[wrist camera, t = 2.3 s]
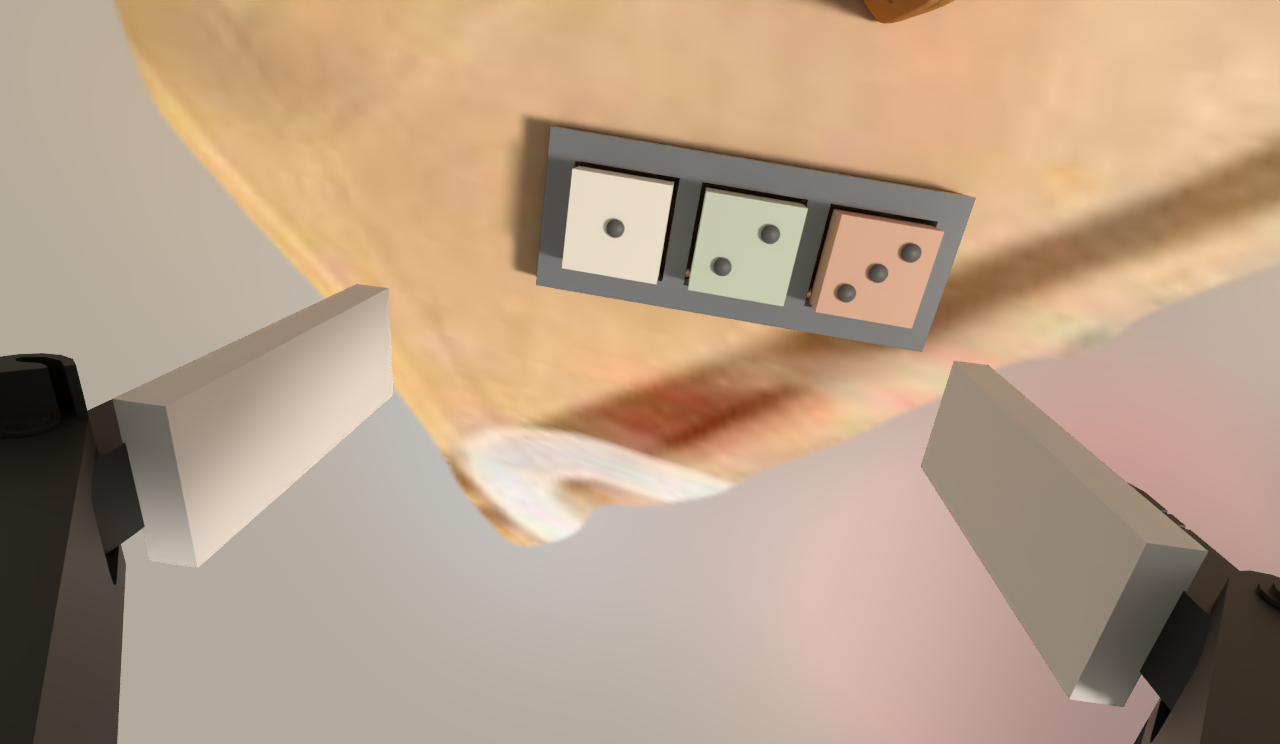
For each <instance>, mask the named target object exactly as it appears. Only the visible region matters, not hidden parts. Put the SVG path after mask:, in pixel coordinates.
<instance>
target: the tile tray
mask: <svg viewBox="0 0 1280 744" xmlns="http://www.w3.org/2000/svg"><path fill="white" fill-rule="evenodd" d="M580 161H582V162H588V163H593V164H599V165H605V166H611V167H617V168H623V169H629V170H635V171H641V172H647V173H653V174H659V175H665V176H670V177H676V178H680V180H679V186H678V192H677V198H676V204H675V210H674V216H673V221H672V227H671V233H670V239H669V245H668V251H667V256H666V262H665V268H664V274H659V276H658V280H657V284H651V283H645V282H639V281H633V280H627V279H622V278H616V277H610V276H604V275H599V274H593V273H587V272H581V271H575V270H570V269H564V268H562V261H563V252H564V243H565V233H566V224H567V215H568V205H569V196H570V187H571V177H572V169H573V168H576V167H578V166H580ZM702 182H706V183H712V184H718V185H724V186H730V187H736V188H741V189H747V190H753V191H759V192H765V193H771V194H777V195H783V196H789V197H795V198H801V199H803V200H802V204H803V205H804V206H805V207H807V208H808V211H807V215H806V219H805V223H804V227H803V231H802V235H801V239H800V243H799V247H798V251H797V254H796V258H795V262H794V266H793V270H792V274H791V278H790V282H789V286H788V290H787V294H786V298H785V302H784V306H778V305H772V304H766V303H760V302H755V301H749V300H743V299H737V298H731V297H726V296H720V295H714V294H708V293H703V292H697V291H691V290H688V283H689V279H687V278H685V273H686V267H687V262H688V257H689V251H690V246H691V240H692V235H693V230H694V224H695V219H696V213H697V208H698V202H699V197H700V192H701V186H702ZM975 199H976V198H974V197H970V196H967V195H963V194H958V193H952V192H946V191H940V190H934V189H928V188H922V187H916V186H910V185H904V184H898V183H892V182H886V181H880V180H874V179H868V178H863V177H857V176H851V175H845V174H839V173H833V172H827V171H821V170H815V169H809V168H803V167H797V166H791V165H785V164H779V163H773V162H767V161H761V160H755V159H749V158H743V157H737V156H731V155H725V154H719V153H713V152H707V151H702V150H696V149H690V148H684V147H678V146H672V145H666V144H660V143H654V142H648V141H642V140H636V139H630V138H624V137H618V136H612V135H606V134H600V133H594V132H588V131H582V130H576V129H570V128H564V127H558V126H555V127H550V138H549V149H548V160H547V171H546V182H545V193H544V204H543V215H542V225H541V236H540V247H539V258H538V269H537V280H536V285H539V286H545V287H551V288H557V289H562V290H568V291H574V292H580V293H585V294H591V295H597V296H603V297H608V298H614V299H620V300H626V301H631V302H637V303H643V304H649V305H654V306H660V307H666V308H672V309H677V310H683V311H689V312H695V313H700V314H706V315H712V316H718V317H723V318H729V319H735V320H741V321H746V322H752V323H758V324H764V325H769V326H775V327H781V328H787V329H792V330H798V331H804V332H810V333H815V334H821V335H827V336H833V337H838V338H844V339H850V340H856V341H861V342H867V343H873V344H879V345H884V346H890V347H896V348H902V349H907V350H913V351H919V352H922V350H923V348H924V345H925V342H926V339H927V336H928V333H929V330H930V328H931V325H932V322H933V319H934V316H935V313H936V310H937V308H938V305H939V302H940V299H941V296H942V293H943V290H944V288H945V285H946V282H947V279H948V276H949V273H950V270H951V267H952V265H953V262H954V259H955V256H956V253H957V250H958V247H959V245H960V242H961V239H962V236H963V233H964V230H965V227H966V225H967V222H968V219H969V216H970V213H971V210H972V207H973V205H974V202H975ZM831 204H836V205H842V206H848V207H854V208H860V209H866V210H872V211H878V212H884V213H890V214H895V215H901V216H907V217H913V218H919V219H925V220H926V222H925V224H927V225H931V226H933V227H935V228H937V229H940V230H942V231H944V235H943V238H942V241H941V244H940V247H939V250H938V253H937V256H936V259H935V261H934V264H933V267H932V270H931V273H930V276H929V279H928V282H927V285H926V288H925V291H924V294H923V297H922V300H921V303H920V306H919V309H918V312H917V315H916V318H915V321H914V324H913V327H912V329H911V328H905V327H899V326H893V325H887V324H882V323H876V322H870V321H864V320H859V319H853V318H847V317H841V316H835V315H830V314H824V313H818V312H815V310H814V309H813V307H812V305H811V304H810V302H809V299H806V296H807V293H808V289H809V285H810V281H811V277H812V274H813V270H814V266H815V262H816V259H817V255H818V251H819V247H820V243H821V240H822V236H823V232H824V228H825V224H826V221H827V217H828V213H829V209H830V206H831Z"/></svg>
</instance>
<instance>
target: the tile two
mask: <svg viewBox="0 0 1280 744" xmlns="http://www.w3.org/2000/svg"><path fill="white" fill-rule="evenodd" d="M807 211H808V208H807V207H805V206H804V205H803V204H802V203H797V202H791V201H785V200H779V199H773V198H767V197H761V196H755V195H749V194H743V193H738V192H732V191H726V190H720V189H714V188H708V187H706V190H705V196H704V201H703V207H702V212H701V217H700V223H699V228H698V233H697V239H696V244H695V249H694V255H693V260H692V265H691V271H690V276H689V283H688V290H691V291H697V292H703V293H708V294H714V295H720V296H726V297H731V298H737V299H743V300H749V301H755V302H760V303H766V304H772V305H778V306H784V302H785V298H786V294H787V290H788V286H789V282H790V278H791V274H792V270H793V266H794V262H795V258H796V254H797V251H798V247H799V243H800V239H801V235H802V231H803V227H804V223H805V219H806V215H807Z"/></svg>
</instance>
